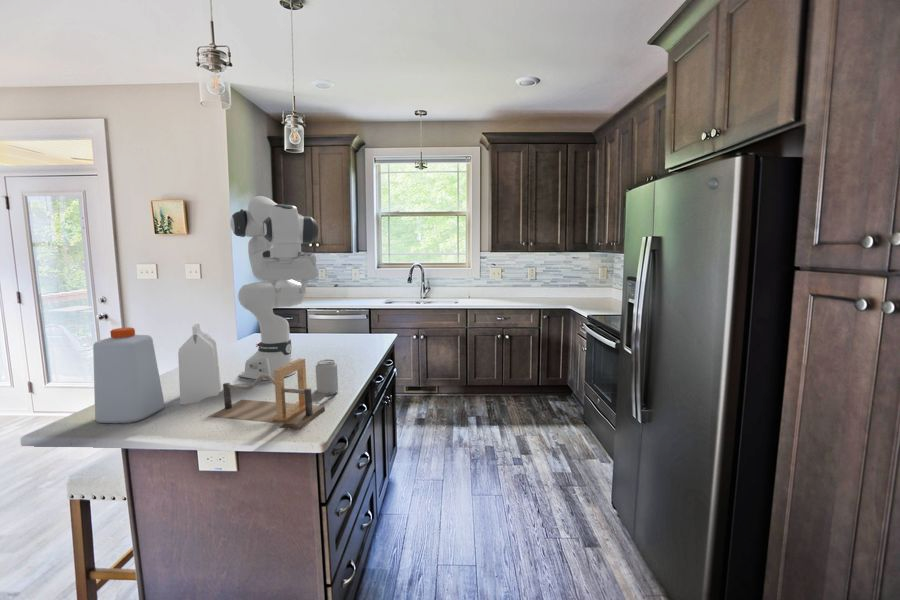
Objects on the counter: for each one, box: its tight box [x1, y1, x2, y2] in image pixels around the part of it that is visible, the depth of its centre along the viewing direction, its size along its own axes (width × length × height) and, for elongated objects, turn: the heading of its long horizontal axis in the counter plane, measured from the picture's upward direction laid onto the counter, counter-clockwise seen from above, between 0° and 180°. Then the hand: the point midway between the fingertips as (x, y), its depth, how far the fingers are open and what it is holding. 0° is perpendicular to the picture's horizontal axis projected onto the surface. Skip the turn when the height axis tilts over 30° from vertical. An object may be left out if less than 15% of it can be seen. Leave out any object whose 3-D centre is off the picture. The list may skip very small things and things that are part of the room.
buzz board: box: [207, 375, 326, 430], centre depth 134 cm, size 31×15×13 cm, turn 77°
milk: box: [177, 323, 223, 405], centre depth 152 cm, size 12×12×26 cm
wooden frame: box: [272, 358, 308, 422], centre depth 132 cm, size 5×13×16 cm, turn 167°
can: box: [315, 358, 339, 397], centre depth 154 cm, size 8×8×12 cm
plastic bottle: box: [92, 327, 165, 424], centre depth 135 cm, size 15×15×28 cm
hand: (289, 293), depth 147 cm, fingers open, 8 cm apart
